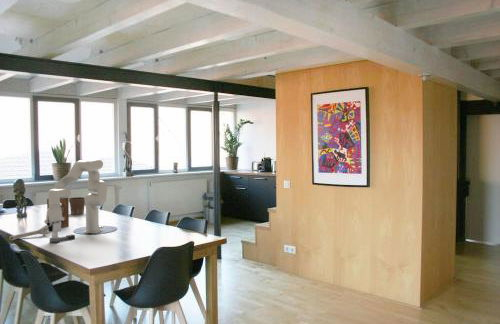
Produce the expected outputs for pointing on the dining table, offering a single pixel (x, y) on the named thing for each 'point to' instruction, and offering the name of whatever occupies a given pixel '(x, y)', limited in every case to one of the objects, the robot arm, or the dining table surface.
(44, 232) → the wrench
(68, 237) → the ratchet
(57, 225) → the cube with metal dome
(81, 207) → the plant pot
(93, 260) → the dining table surface
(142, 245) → the dining table surface
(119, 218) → the dining table surface
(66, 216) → the book
